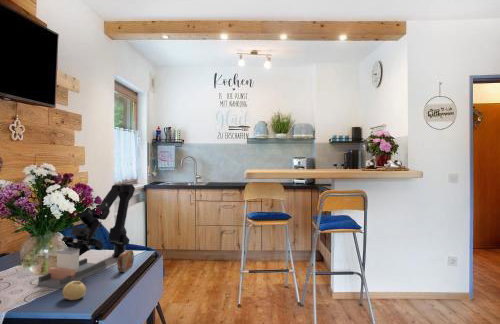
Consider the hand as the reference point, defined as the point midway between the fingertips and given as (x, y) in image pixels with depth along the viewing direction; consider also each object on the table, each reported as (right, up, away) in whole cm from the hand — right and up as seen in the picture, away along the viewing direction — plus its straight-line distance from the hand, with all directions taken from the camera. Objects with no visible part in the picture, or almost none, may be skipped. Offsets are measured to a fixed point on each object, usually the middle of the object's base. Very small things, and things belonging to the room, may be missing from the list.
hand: (72, 259), depth 156 cm
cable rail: (0, -8, +1) cm, 8 cm away
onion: (+12, -9, -23) cm, 27 cm away
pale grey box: (-1, -6, -3) cm, 7 cm away
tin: (+19, -8, +12) cm, 24 cm away
